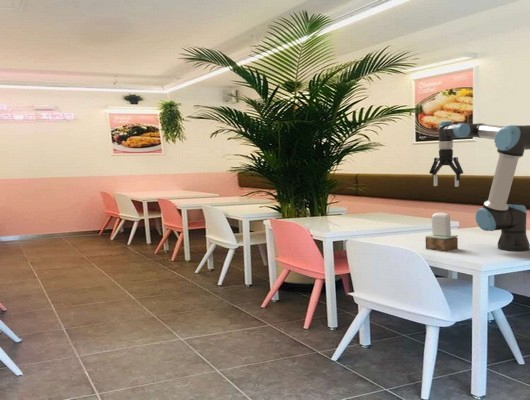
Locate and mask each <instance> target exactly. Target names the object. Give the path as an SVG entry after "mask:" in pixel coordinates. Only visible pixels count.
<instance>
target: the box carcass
mask: <svg viewBox="0 0 530 400" xmlns="http://www.w3.org/2000/svg"><path fill="white" fill-rule="evenodd" d="M458 242H459V241H458V237H454V238H449V239H435V238H426V237H425V250H433V251H438V252H445V251H446V252H450V251H454V250H459V249H458V248H459V247H458V245H459V244H458Z"/></svg>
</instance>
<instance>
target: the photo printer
mask: <svg viewBox="0 0 530 400" xmlns="http://www.w3.org/2000/svg"><path fill="white" fill-rule="evenodd" d="M431 229H432V235H436V236H450V235H452V232H451V231H452V230H451V216H450V214H448V213H446V212H435V213H433V214H432V215H431Z"/></svg>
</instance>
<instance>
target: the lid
mask: <svg viewBox="0 0 530 400" xmlns="http://www.w3.org/2000/svg"><path fill="white" fill-rule="evenodd" d="M454 237H457V238H458V234H451V235H450V236H436V235H433V234H430V235H426V236H425V239H426V238H435V239H449V238H454Z"/></svg>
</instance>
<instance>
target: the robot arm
mask: <svg viewBox="0 0 530 400" xmlns="http://www.w3.org/2000/svg"><path fill="white" fill-rule="evenodd" d="M457 138H459V139H461V138H479V139H488V140H494V146H495V147H496V149H497V150H496V152H497V153H498V155H499V156H498V159H497V163H496V168H495V172H494V175H493V179H492V183H491V187H490V191H489V195H488V199H487V200H485V201H484V202H483V205H482V207H480V208H479V209H477V210H476V211H475V221H476V223H477V226H478V227H479V228H480V230H482V231H485V232H495V231H500V236H499V239H498V241H497V249H499V250H504V251H511V252H519V251H520V252H521V251H522V252H525V251H530V241H529V239H528V236H527V208H526V206H525V205H523V204H509V203H507V202H508V199H509V196H510V192H511V187H512V183H513V180H514V176H515V173H516V169H517V166H518V163H519V159H520V158H522V157H523V156H524V153H525V150H528V151H529V150H530V125H528V124H527V125H515V124H513V125H512V124H511V125H506V126H505V125H493V124H486V123H479V122H477V123H466V122H465V123H463V122H461V123H454V122H453V121H451V120H450V121H440V122H438V149H439V150H438V156H439V157H434V158H433V163H432V164H431V167H430V170H429V174H431V175H432V181H433V187H438V182H439V181H438V172H439V171H440V169H442V167H443V166H449V167H450V168H451V170H452V171H453V172H454V173H455V175H454V188H455V187H456V188H457V187H459V186H460V183H459V181H461V175H462V174H464V171H463V168H462V166H461V164H460V162H459V157H457V156H455V157H453V155H454V149H453V147H454V146H453V145H454V144H453V143H454V139H457Z"/></svg>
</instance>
